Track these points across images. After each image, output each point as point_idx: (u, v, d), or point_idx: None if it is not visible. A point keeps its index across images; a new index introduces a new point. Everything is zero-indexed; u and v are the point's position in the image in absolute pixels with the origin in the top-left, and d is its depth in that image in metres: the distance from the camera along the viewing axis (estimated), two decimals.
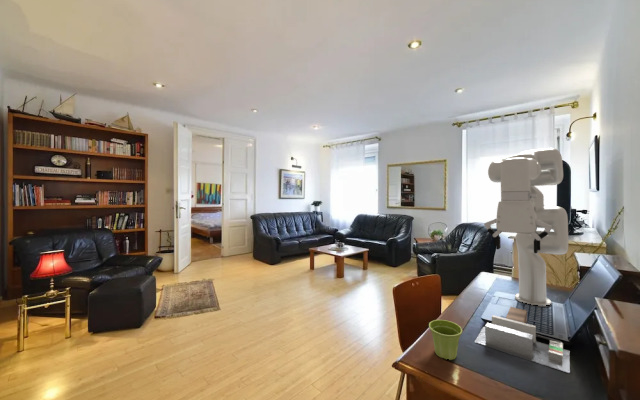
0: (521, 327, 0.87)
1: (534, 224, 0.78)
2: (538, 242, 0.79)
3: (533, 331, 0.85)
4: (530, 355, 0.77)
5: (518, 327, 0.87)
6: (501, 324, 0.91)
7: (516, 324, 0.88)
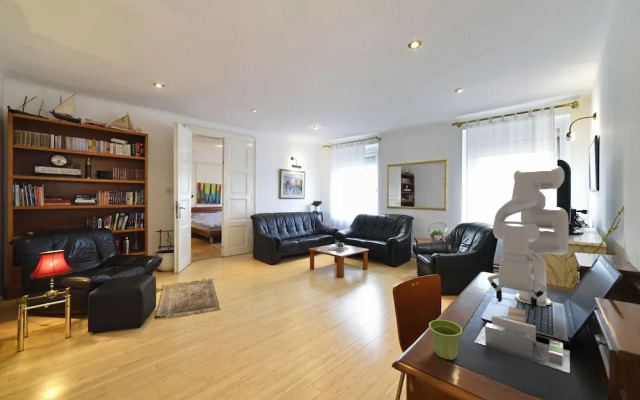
0: (521, 327, 0.87)
1: (531, 284, 0.90)
2: (535, 300, 0.90)
3: (533, 331, 0.85)
4: (530, 355, 0.77)
5: (518, 327, 0.87)
6: (501, 324, 0.91)
7: (516, 324, 0.88)
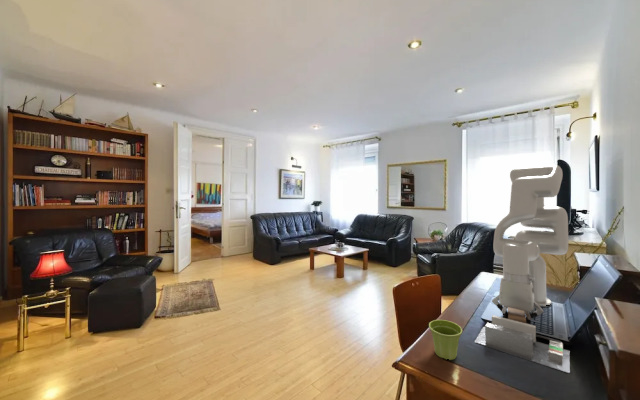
0: (521, 327, 0.87)
1: (532, 304, 0.90)
2: (529, 321, 0.92)
3: (533, 331, 0.85)
4: (530, 355, 0.77)
5: (518, 327, 0.87)
6: (501, 324, 0.91)
7: (516, 324, 0.88)
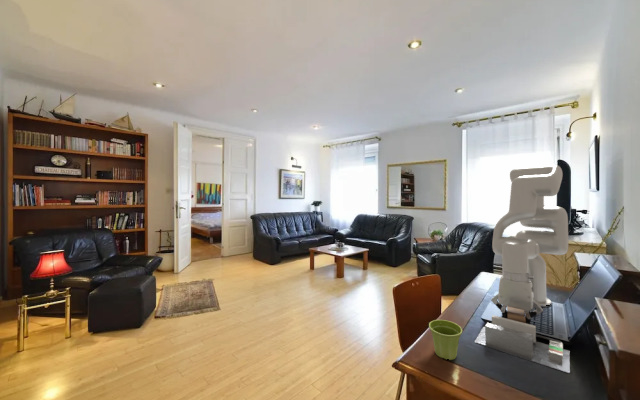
0: (521, 327, 0.87)
1: (531, 303, 0.89)
2: (529, 320, 0.91)
3: (533, 331, 0.85)
4: (530, 355, 0.77)
5: (518, 327, 0.87)
6: (501, 324, 0.91)
7: (516, 324, 0.88)
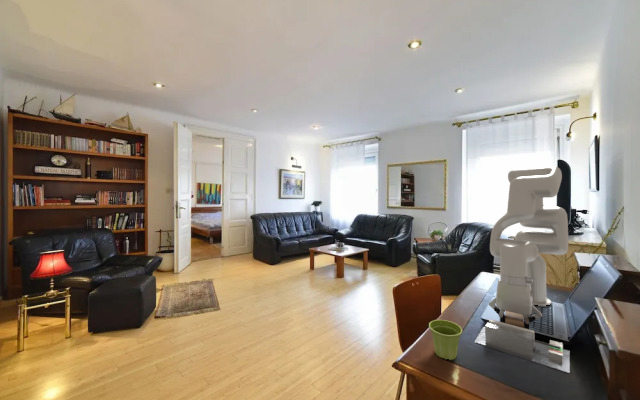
0: None
1: (530, 308, 0.86)
2: (527, 325, 0.88)
3: None
4: (530, 355, 0.77)
5: None
6: None
7: (514, 329, 0.85)
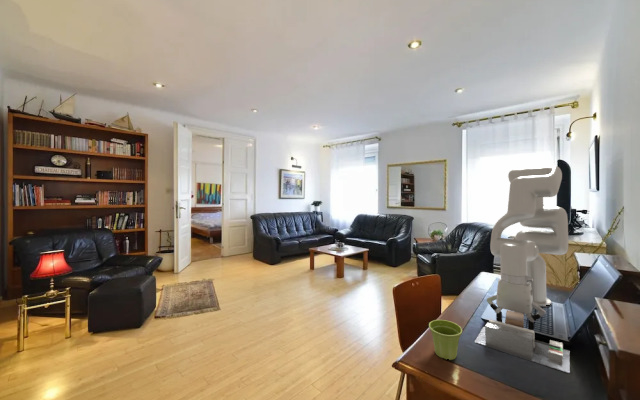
0: None
1: (530, 306, 0.87)
2: (532, 323, 0.88)
3: None
4: (530, 355, 0.77)
5: None
6: None
7: (514, 329, 0.85)
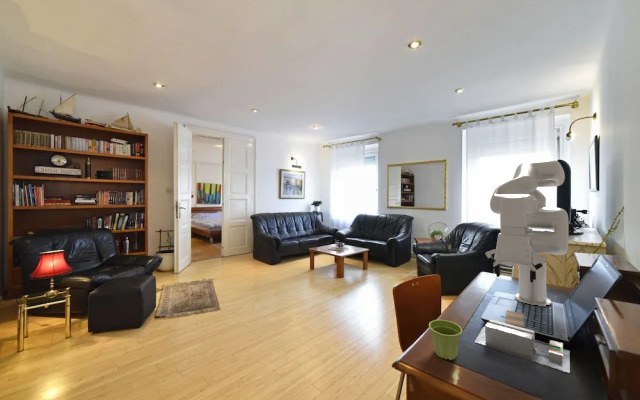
0: None
1: (530, 257, 0.87)
2: (534, 272, 0.88)
3: None
4: (530, 355, 0.77)
5: None
6: None
7: (514, 329, 0.85)
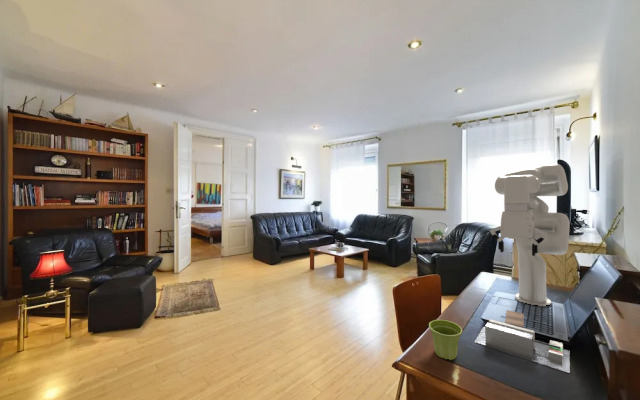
0: None
1: (532, 231, 0.93)
2: (536, 246, 0.94)
3: None
4: (530, 355, 0.77)
5: None
6: None
7: (514, 329, 0.85)
